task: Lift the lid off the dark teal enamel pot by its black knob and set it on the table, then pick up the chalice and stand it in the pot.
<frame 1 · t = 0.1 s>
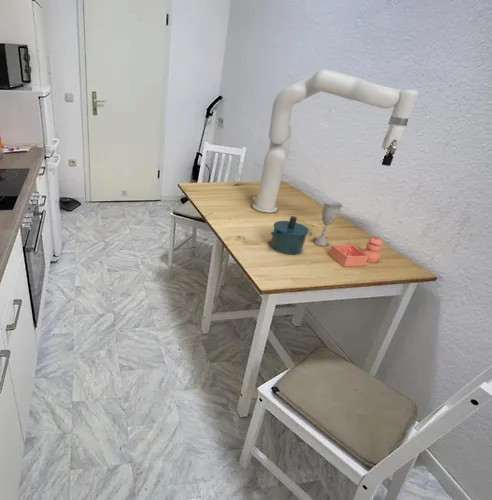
hand: (384, 162, 158), 31 cm above the table, tool pointing down, fingers open, 9 cm apart
pot: (285, 247, 150), on the table
lid: (290, 228, 146), point 8 cm above the table, touching pot
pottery: (356, 259, 144), on the table
chalice: (320, 243, 156), on the table
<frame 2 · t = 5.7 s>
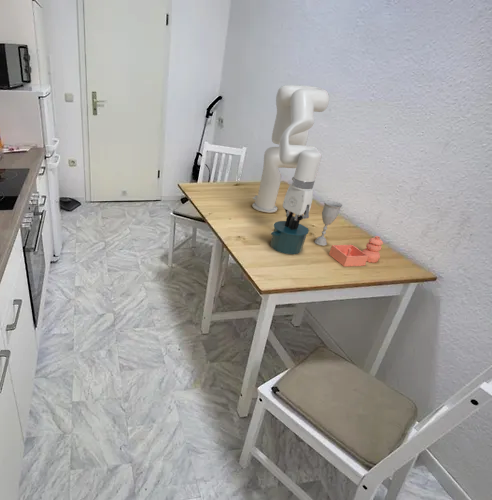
hand: (291, 227, 146), 9 cm above the table, tool pointing down, fingers closed on lid, 2 cm apart
lid: (290, 228, 146), point 9 cm above the table, touching gripper, pot
everything else where it was.
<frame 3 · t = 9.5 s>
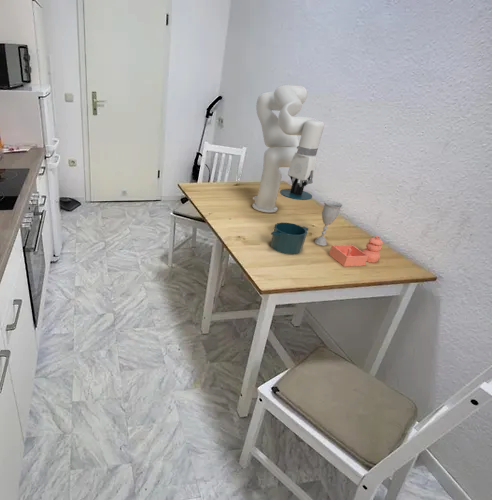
hand: (296, 193, 158), 17 cm above the table, tool pointing down, fingers closed on lid, 2 cm apart
lid: (295, 194, 159), point 17 cm above the table, touching gripper
everything else where it was.
when the fingers open (1 cm above the table, at t = 13.2 s): lid stays where it is, point 1 cm above the table.
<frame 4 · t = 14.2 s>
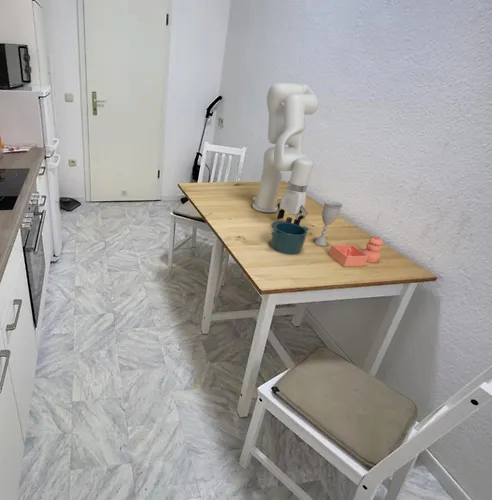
hand: (287, 222, 166), 3 cm above the table, tool pointing down, fingers open, 9 cm apart
lid: (286, 228, 166), point 1 cm above the table
everything else where it was.
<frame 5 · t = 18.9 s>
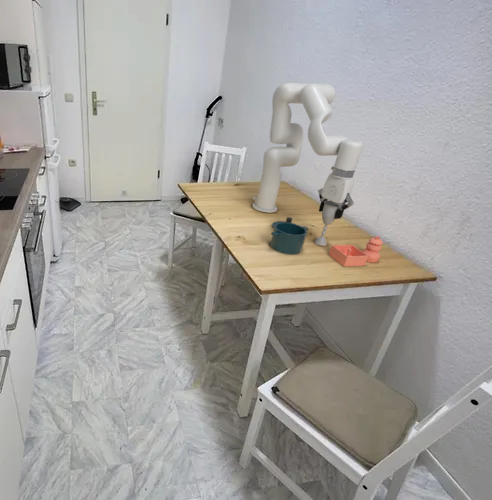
hand: (329, 214, 149), 13 cm above the table, tool pointing down, fingers closed on chalice, 7 cm apart
chalice: (320, 243, 156), on the table, touching gripper
everything else where it was.
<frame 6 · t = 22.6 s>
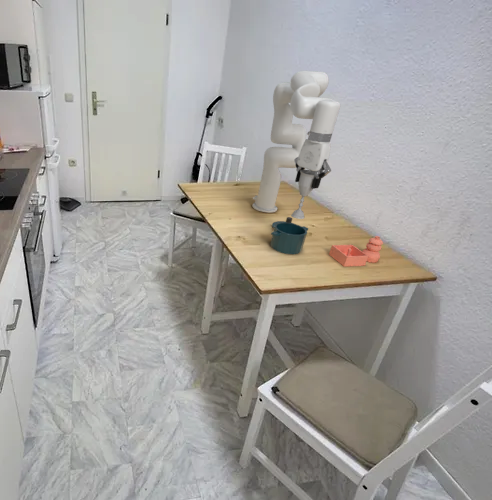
hand: (306, 184, 138), 27 cm above the table, tool pointing down, fingers closed on chalice, 7 cm apart
chalice: (297, 216, 144), point 14 cm above the table, touching gripper
everything else where it was.
when the fingers open (14 cm above the table, at t = 26.2 s): chalice stays where it is, resting on pot.
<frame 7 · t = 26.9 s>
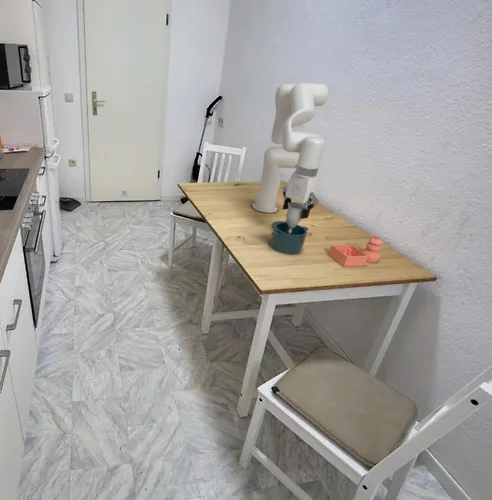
hand: (294, 213, 143), 15 cm above the table, tool pointing down, fingers open, 9 cm apart
chalice: (285, 246, 150), resting on pot
everything else where it was.
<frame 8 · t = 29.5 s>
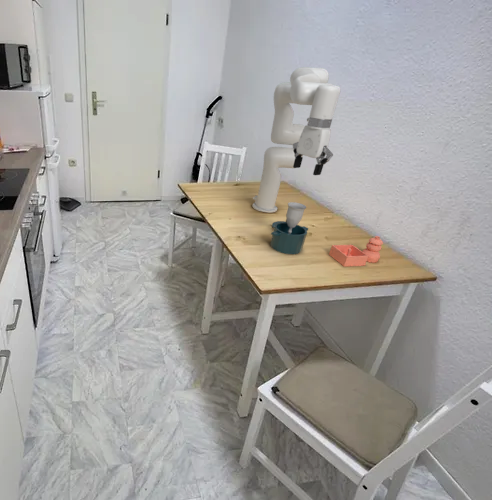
hand: (306, 171, 135), 32 cm above the table, tool pointing down, fingers open, 9 cm apart
nothing on the table moved.
at the end: lid inside the target area (0.2 cm from its centre), point 0.6 cm above the table; chalice 0.0 cm off-centre in the pot, point 0.3 cm above the pot's base; chalice tilted 0° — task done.
